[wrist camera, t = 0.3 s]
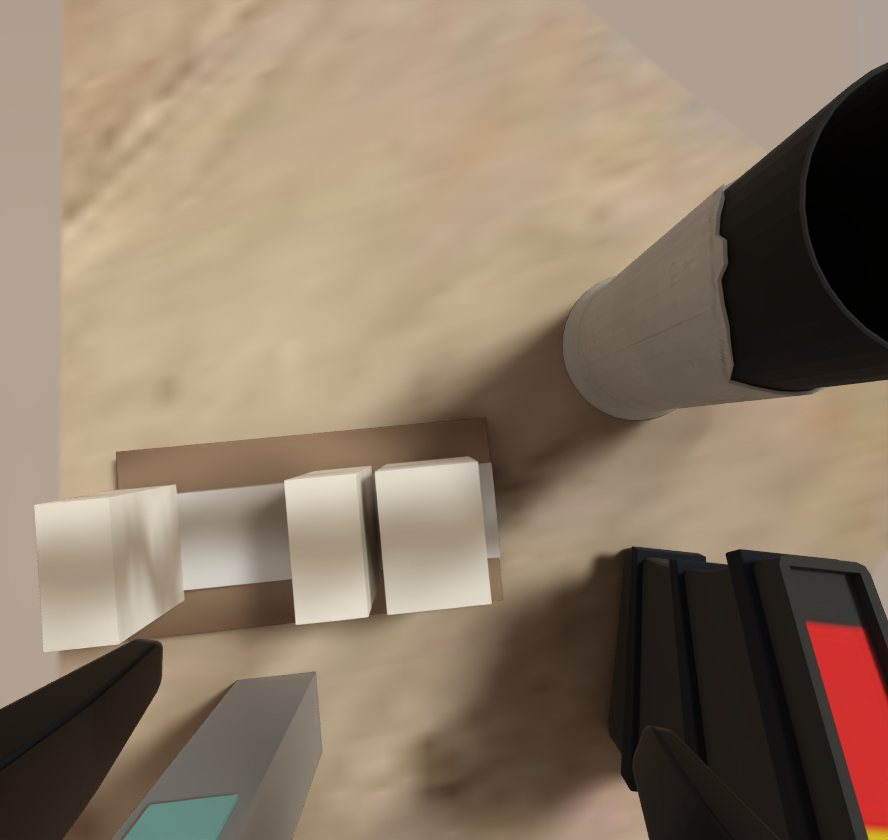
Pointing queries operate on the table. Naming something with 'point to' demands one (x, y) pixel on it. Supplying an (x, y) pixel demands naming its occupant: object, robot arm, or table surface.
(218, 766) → the block
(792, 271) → the glass holder
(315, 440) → the board
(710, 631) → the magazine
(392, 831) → the table surface
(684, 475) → the table surface
